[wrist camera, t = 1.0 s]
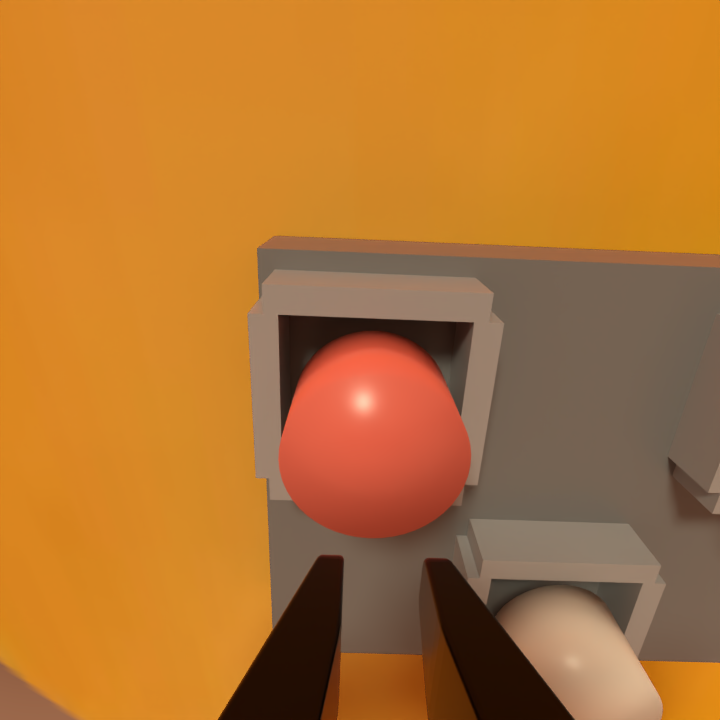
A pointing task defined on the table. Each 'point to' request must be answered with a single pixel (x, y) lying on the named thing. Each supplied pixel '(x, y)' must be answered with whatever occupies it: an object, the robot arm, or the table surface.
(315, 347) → the control panel
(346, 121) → the table surface
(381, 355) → the red button
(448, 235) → the table surface
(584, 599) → the cream button
